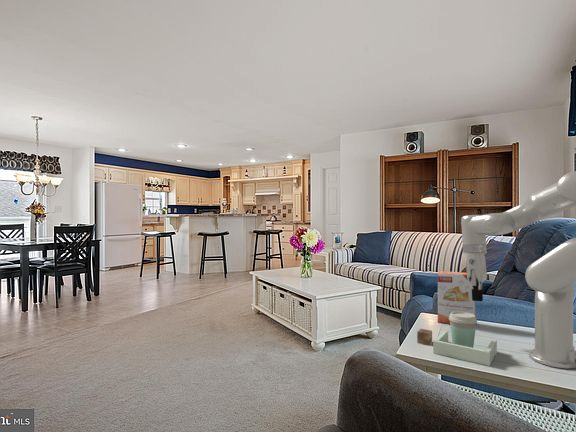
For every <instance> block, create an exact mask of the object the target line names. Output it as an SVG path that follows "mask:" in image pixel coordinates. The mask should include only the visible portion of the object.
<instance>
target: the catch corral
mask: <svg viewBox="0 0 576 432" xmlns="http://www.w3.org/2000/svg"><path fill="white" fill-rule="evenodd" d="M432 342H433V350H432V351H433V354H436V355H441V356H444V357H449V358H453V359H454V358H455V359H458V360H461V361H465V362H469V363H470V362H471V363H475V364H480V365H483V366H488V367H490V366H491V364H492V362H493V360H494V358H495V356H496V354H497V352H498V345H497V344H498V343H497V342H498V339H496V338H492V339H491V341H490V343H489V344H488V346H487V348H486V349H479V348H476V347H473V348H471V347H467V346H462V345H457V344H453V342H451V343H450V342H449V329H448V330H447V329H444V330H443V331H442V332H441V333H440V334H439V335H438V336H437V337H436V338H435V339H434V340H432Z"/></svg>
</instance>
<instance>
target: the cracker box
mask: <svg viewBox="0 0 576 432" xmlns="http://www.w3.org/2000/svg"><path fill="white" fill-rule="evenodd" d="M451 312H467V313H471V314H474V315H475V316H476V301H473V300H472V286H471V281H470V282H469V281H468V279H467V272H460V271H445V270H438V271H437V323H441V324H450V320H449V316H450V313H451Z"/></svg>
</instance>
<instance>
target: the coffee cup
mask: <svg viewBox="0 0 576 432" xmlns="http://www.w3.org/2000/svg"><path fill="white" fill-rule="evenodd" d="M449 320H450V323H449V325H450V333H451V340H452V342H451V343H452V344H457V345H462V346H467V347H471V348H474V345H475V338H476V337H475V336H476V328H477V323H478V320H477V317H476V314H475V315H474V314H471V313H467V312H451V313H450V316H449Z"/></svg>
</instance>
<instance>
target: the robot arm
mask: <svg viewBox="0 0 576 432" xmlns="http://www.w3.org/2000/svg"><path fill="white" fill-rule="evenodd" d="M574 207H576V170H575V171H571V172H567V173H566V174H564V175H562V176H561V177H560V178H559V180H557V182H555V183H553V184H551V185H548V186H547V187H544V188H542V189H540V190H538V191H535V192H533V193H532V194H530V195H528V198H527V199H526V200H525V201H523V202H522V203H520V204H519V205H517V206H515V207H512V208H510V209H508V210H505V211H503V212H495V213H494V212H493V213H492V212H491V213H486V214H470V215H463V216H462V217H461V219H460V220H461V221H460V224H461V237H462V238H461V239H462V240H461V241H462V242H461V243H462V254H464V255H465V256H466V259H465V260H466V262H465V263H466V266H465V267H466V273H467V279H468V281H469V282H470V281H471V286H472V300H473V301H475V302H483V300H484V295H483V293H484V292H483V283H484V282H485V281H486V280H487V279H488V274H487V264H486V256H485V254H486V255H487V253H488V251H487V239H486V238H487V237H486V236H500V235H508V234H510V233H512V232H515V231H518V230H520V229H522V228H526V227H528V226H530V225H532V224H535V223H538V222H540V221H544V220H545V219H547V218H549V217H552V216H555V215H558V214H559V213H562V212H564V211H566V210H569V209H571V208H574ZM524 277H525V281H526V284H527V285H528V287H530V288H531V289H532V290H534V291H535V294H534V348H533V349H531V350H529V351H528V356H529V358H530V359H531V360H533V361H535V362H536V363H539V364H541V365H545V366H548V367H553V368H557V369H576V350H575V348H576V347H575V346H574V295H575V287H576V286H575V285H576V237H574V238H570V239H568V240H565V242H562V243H561V244H559V245H557V246H556V247H554V248H553V249H552V250H550V251H549V252H547V253H545V254H544V255H542V256H541V257H540V258H538V259H536V260H535V261H533V262H532V263H530V264H529V265H528V267H527V268H526V270H525V275H524Z"/></svg>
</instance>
